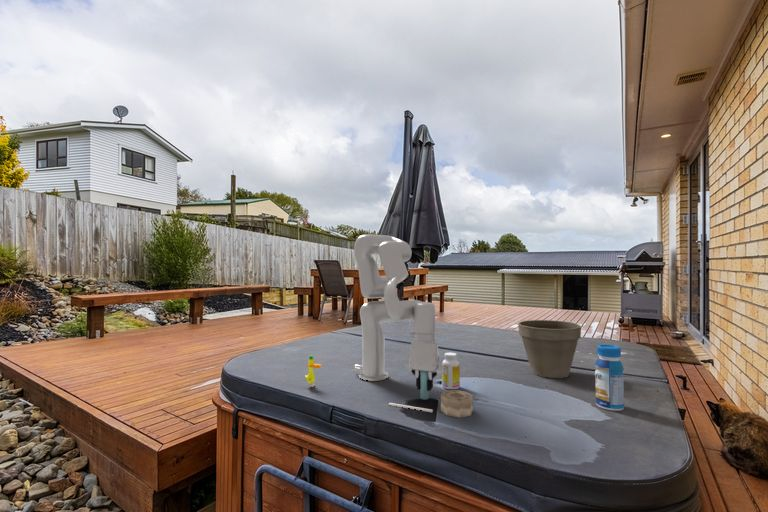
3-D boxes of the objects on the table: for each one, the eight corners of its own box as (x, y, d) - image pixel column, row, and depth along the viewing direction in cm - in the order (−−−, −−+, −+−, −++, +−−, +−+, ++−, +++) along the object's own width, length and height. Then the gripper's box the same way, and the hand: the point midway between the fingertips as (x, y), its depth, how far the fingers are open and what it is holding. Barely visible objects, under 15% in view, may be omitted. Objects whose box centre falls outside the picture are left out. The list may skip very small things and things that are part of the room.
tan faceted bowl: (438, 414, 117) (438, 398, 117) (445, 403, 125) (445, 388, 126) (469, 419, 113) (468, 402, 113) (474, 407, 122) (474, 392, 122)
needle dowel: (419, 398, 130) (419, 364, 130) (421, 396, 133) (421, 362, 133) (427, 400, 129) (427, 365, 129) (429, 397, 132) (429, 363, 132)
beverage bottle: (625, 413, 117) (624, 350, 118) (594, 408, 122) (593, 347, 122) (624, 405, 124) (623, 345, 125) (595, 400, 129) (594, 342, 129)
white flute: (388, 405, 124) (388, 403, 124) (389, 404, 125) (389, 402, 125) (432, 412, 118) (432, 410, 118) (432, 411, 119) (432, 409, 119)
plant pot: (517, 378, 154) (516, 326, 154) (519, 363, 177) (519, 318, 177) (585, 385, 144) (584, 330, 145) (578, 369, 167) (577, 321, 168)
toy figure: (322, 386, 143) (322, 354, 144) (319, 389, 140) (319, 357, 140) (306, 385, 145) (306, 354, 145) (302, 388, 141) (302, 356, 141)
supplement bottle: (460, 385, 144) (460, 352, 144) (458, 391, 138) (458, 356, 138) (443, 383, 146) (443, 351, 147) (440, 389, 140) (440, 355, 140)
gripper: (399, 337, 131) (399, 389, 131) (444, 341, 125) (444, 396, 124) (406, 333, 138) (406, 383, 137) (449, 337, 131) (449, 389, 131)
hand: (424, 388), depth 131 cm, fingers closed on needle dowel, 3 cm apart
